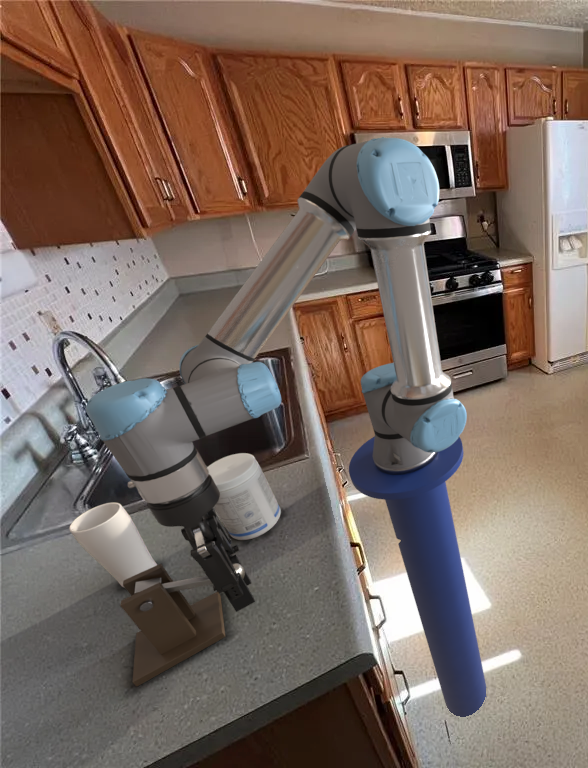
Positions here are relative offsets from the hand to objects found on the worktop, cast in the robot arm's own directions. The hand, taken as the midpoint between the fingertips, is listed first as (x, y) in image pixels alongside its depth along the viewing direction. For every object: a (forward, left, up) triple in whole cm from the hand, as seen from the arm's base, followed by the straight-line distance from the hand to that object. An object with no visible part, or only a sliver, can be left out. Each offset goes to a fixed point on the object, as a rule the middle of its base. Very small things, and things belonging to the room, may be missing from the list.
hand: (243, 595), depth 68 cm
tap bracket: (+9, 0, -2) cm, 9 cm away
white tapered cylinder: (+15, -19, -2) cm, 24 cm away
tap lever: (+5, 0, +5) cm, 7 cm away
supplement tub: (-4, -19, -2) cm, 19 cm away
